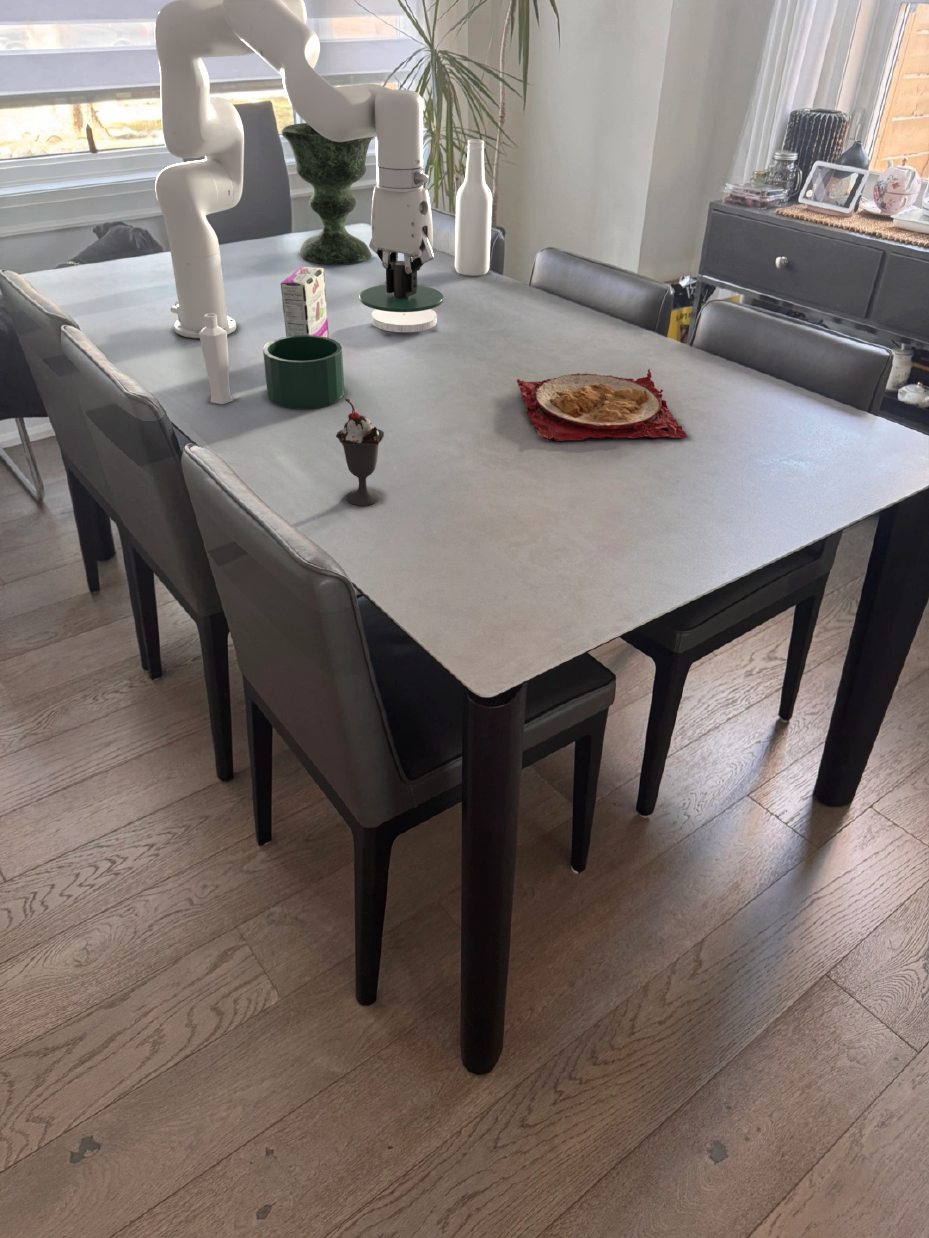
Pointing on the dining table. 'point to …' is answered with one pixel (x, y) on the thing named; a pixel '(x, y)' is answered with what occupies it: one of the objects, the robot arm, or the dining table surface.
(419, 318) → the plastic lid
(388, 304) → the lid
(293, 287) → the candy bar box
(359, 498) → the sundae
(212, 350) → the perfume bottle
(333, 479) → the dining table surface
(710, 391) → the dining table surface
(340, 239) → the goblet
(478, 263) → the alcohol
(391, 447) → the dining table surface
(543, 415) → the plate with food
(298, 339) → the tin
